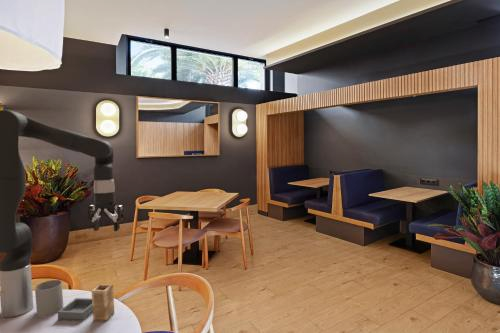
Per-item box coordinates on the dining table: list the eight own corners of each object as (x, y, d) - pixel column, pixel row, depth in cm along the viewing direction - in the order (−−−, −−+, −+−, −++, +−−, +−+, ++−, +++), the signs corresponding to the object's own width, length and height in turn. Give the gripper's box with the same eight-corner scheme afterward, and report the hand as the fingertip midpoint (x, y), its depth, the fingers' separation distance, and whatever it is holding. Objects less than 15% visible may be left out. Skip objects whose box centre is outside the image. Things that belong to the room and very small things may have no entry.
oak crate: (106, 321, 104) (105, 291, 104) (93, 320, 105) (91, 290, 104) (114, 313, 109) (112, 284, 109) (101, 312, 110) (100, 284, 109)
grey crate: (83, 320, 105) (83, 312, 105) (58, 319, 106) (57, 311, 106) (99, 306, 115) (99, 298, 114) (76, 305, 115) (75, 298, 115)
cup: (49, 317, 108) (48, 291, 107) (31, 315, 109) (29, 289, 109) (68, 305, 116) (66, 280, 115) (50, 303, 117) (49, 279, 117)
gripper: (81, 192, 115) (84, 233, 116) (115, 192, 114) (117, 233, 115) (94, 189, 123) (96, 227, 124) (126, 189, 121) (128, 228, 122)
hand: (106, 230), depth 119 cm, fingers open, 8 cm apart
